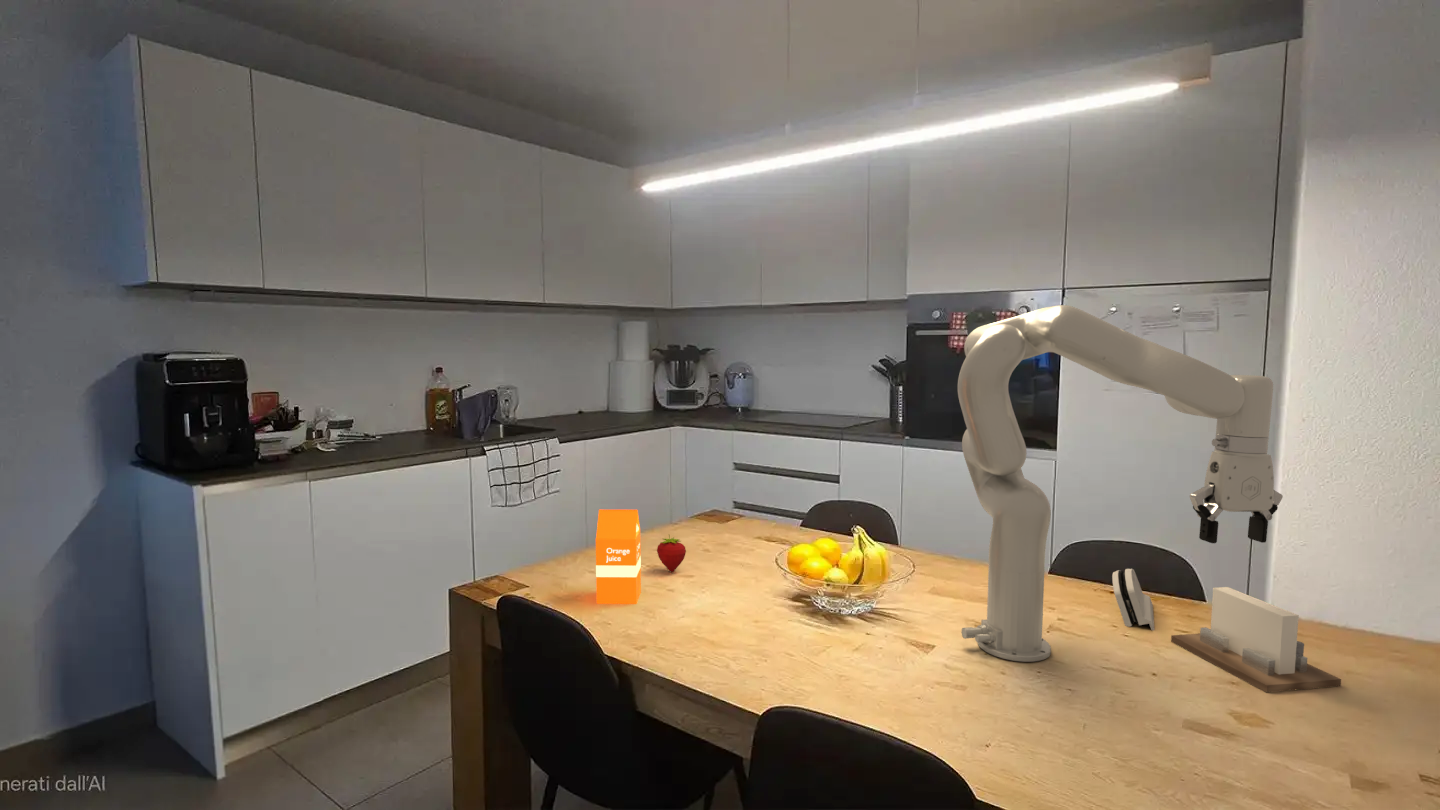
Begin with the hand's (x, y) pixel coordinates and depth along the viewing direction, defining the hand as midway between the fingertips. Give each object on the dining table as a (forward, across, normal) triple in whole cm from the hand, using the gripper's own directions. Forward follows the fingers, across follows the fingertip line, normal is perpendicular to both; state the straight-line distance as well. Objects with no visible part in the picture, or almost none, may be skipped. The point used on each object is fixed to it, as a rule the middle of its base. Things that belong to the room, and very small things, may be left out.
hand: (1232, 540), depth 127 cm
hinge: (+22, -2, +21) cm, 30 cm away
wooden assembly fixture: (+21, +3, -3) cm, 22 cm away
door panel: (+20, +3, -3) cm, 20 cm away
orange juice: (+24, -108, +45) cm, 120 cm away
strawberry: (+24, -95, +62) cm, 116 cm away
